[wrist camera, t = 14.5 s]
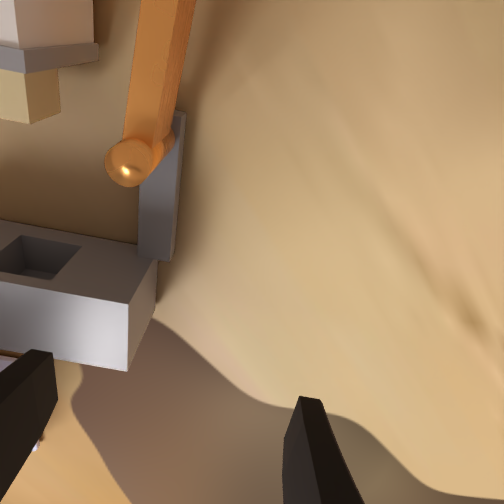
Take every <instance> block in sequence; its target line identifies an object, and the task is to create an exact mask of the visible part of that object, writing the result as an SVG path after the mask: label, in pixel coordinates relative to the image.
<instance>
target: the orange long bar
mask: <svg viewBox="0 0 504 504" xmlns="http://www.w3.org/2000/svg"><path fill="white" fill-rule="evenodd" d="M195 4H196V0H141V6H140V14H139V21H138V28H137V35H136V43H135V50H134V57H133V65H132V72H131V79H130V86H129V94H128V101H127V108H126V116H125V123H124V130H123V137H122V141H120V142H119V143H117V144H116V145H115V146H113V147H112V148H110V149H109V150H108V152H107V153H106V156H105V160H104V164H105V169H106V171H107V173H108V175H109V176H110V178H111V179H112V180H113V181H115V182H116V183H118V184H119V185H122V186H125V187H135V186H138V185H140V184H141V183H142V182H143V181H144V180H145V179H146V178H147V177H148V176H149V175H150V174H151V172H152V171H153V170H154V169H155V168H156V167H157V166H158V165H159V163H160V162H161V161H162V160H163V159H164V158H165V157H166V156H167V154H168V153H169V152H170V151H171V150H172V149H173V147H174V145H175V135H174V132H173V130H172V128H171V125H172V120H173V115H174V110H175V105H176V99H177V94H178V89H179V84H180V79H181V74H182V69H183V64H184V59H185V54H186V49H187V44H188V39H189V34H190V29H191V24H192V19H193V14H194V9H195Z"/></svg>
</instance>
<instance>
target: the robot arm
mask: <svg viewBox="0 0 504 504" xmlns="http://www.w3.org/2000/svg"><path fill="white" fill-rule="evenodd" d="M57 401H58V394H57V386H56V377H55V368H54V360H53V352H47V351H41V350H35V349H30V350H29V351H27V352H26V353H25V354H23V355H22V356H21V357H19V358H13V357H7V356H1V355H0V502H1V500H2V498H3V497H4V495H5V494H6V492H7V490H8V489H9V487H10V485H11V484H12V482H13V481H14V479H15V477H16V476H17V474H18V473H19V471H20V469H21V468H22V466H23V465H24V463H25V461H26V460H27V458H28V456H29V455H30V453H31V451H35V450H37V449H38V447H39V446H40V443H39V438H40V437H41V435H42V433H43V431H44V429H45V427H46V425H47V423H48V421H49V418H50V416H51V414H52V412H53V410H54V408H55V405H56V403H57ZM282 482H283V502H284V504H365V503H364V501H363V499H362V497H361V495H360V493H359V491H358V489H357V487H356V485H355V483H354V480H353V478H352V476H351V474H350V471H349V469H348V467H347V465H346V463H345V460H344V458H343V456H342V453H341V451H340V449H339V446H338V444H337V441H336V439H335V436H334V434H333V431H332V429H331V426H330V423H329V421H328V418H327V415H326V412H325V409H324V406H323V403H322V402H321V400H320V399H314V398H309V397H303V396H299V398H298V401H297V404H296V407H295V409H294V412H293V415H292V418H291V420H290V423H289V426H288V429H287V432H286V434H285V437H284V449H283V470H282Z"/></svg>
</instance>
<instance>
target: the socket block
mask: <svg viewBox="0 0 504 504" xmlns="http://www.w3.org/2000/svg"><path fill="white" fill-rule="evenodd" d="M186 114H187V112H183V111H178V110H174V115H173V120H172V125H171V128H172V130H173V132H174V135H175V145H174V147H173V149H172V150H171V151H170V152H169V153H168V154H167V156H166V157H165V158H164V159H163V160H162V161H161V162H160V163H159V165H158V166H157V167H156V168H155V169H154V170H153V171H152V172H151V174H150V175H149V176H148V177H147V178H146V179H145V180H144V181H143V182H142V183H141V184H140V185H139V216H138V245H134V244H128V243H123V242H118V241H112V240H107V239H102V238H96V237H91V236H85V235H80V234H75V233H69V232H64V231H59V230H53V229H48V228H43V227H37V226H32V225H26V224H21V223H16V222H10V221H5V220H0V349H1V350H7V351H13V352H18V353H24V354H25V353H26V352H27V351H29V350H30V349H35V350H41V351H47V352H53V359H58V360H64V361H70V362H75V363H81V364H87V365H93V366H98V367H104V368H110V369H116V370H121V371H128V369H129V366H130V364H131V362H132V360H133V357H134V355H135V353H136V351H137V349H138V346H139V344H140V342H141V340H142V337H143V335H144V332H145V331H146V328H147V326H148V324H149V322H150V319H151V317H152V315H153V313H154V310H155V302H156V287H157V271H158V260H160V261H166V262H170V260H171V258H172V256H173V254H174V250H175V239H176V227H177V216H178V205H179V193H180V182H181V171H182V159H183V148H184V137H185V125H186Z"/></svg>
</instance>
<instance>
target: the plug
mask: <svg viewBox="0 0 504 504" xmlns="http://www.w3.org/2000/svg"><path fill="white" fill-rule="evenodd" d="M93 61H99V44H98V43H94V26H93V0H0V119H5V120H10V121H15V122H20V123H25V124H32V123H34V122H37V121H40V120H42V119H45V118H47V117H50V116H52V115H55V114H58V113H60V112H61V110H60V96H59V82H58V68H61V67H66V66H72V65H77V64H83V63H88V62H93Z"/></svg>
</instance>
